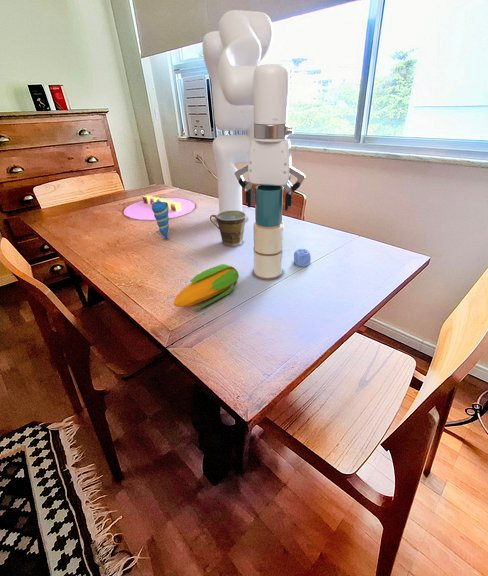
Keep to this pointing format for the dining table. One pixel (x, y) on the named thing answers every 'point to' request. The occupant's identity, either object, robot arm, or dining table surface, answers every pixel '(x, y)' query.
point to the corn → (208, 286)
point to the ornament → (161, 217)
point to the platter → (146, 213)
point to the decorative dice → (302, 257)
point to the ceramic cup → (231, 226)
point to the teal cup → (268, 205)
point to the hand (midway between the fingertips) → (268, 207)
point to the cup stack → (268, 251)
